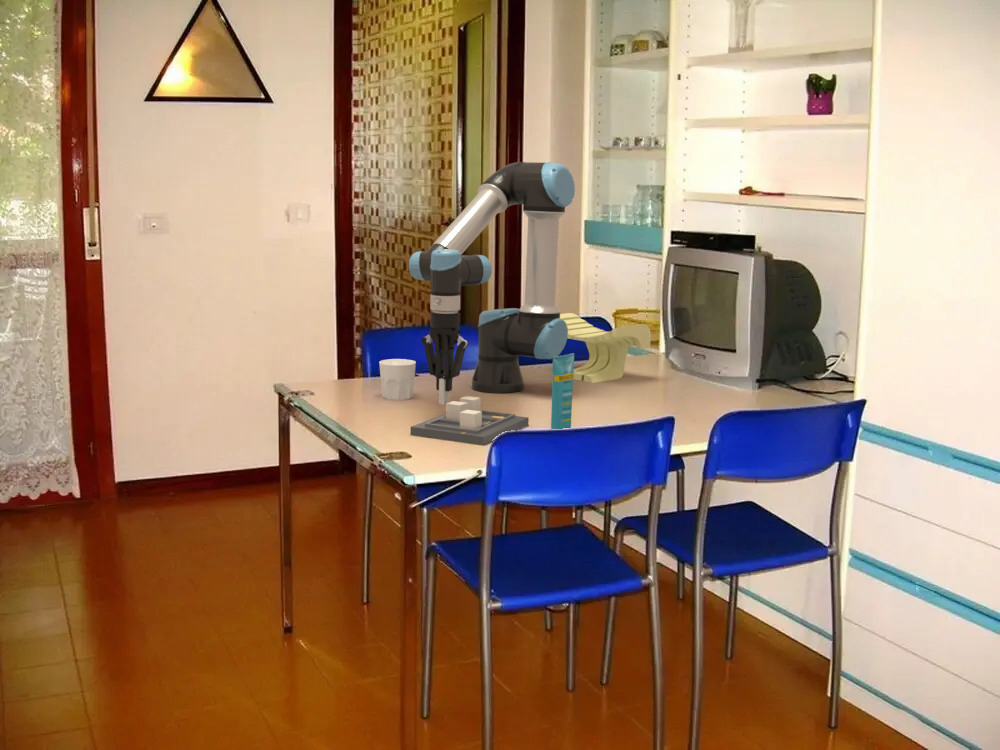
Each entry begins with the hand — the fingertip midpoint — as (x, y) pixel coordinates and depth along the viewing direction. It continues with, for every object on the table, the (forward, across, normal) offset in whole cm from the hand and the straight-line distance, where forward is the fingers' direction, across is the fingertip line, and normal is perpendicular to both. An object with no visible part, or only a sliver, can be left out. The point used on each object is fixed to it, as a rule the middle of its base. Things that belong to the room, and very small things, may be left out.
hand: (444, 403), depth 299 cm
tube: (+4, +32, +3) cm, 32 cm away
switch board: (+4, +12, -7) cm, 14 cm away
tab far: (+2, +7, 0) cm, 8 cm away
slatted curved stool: (+4, +10, +75) cm, 76 cm away
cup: (+4, -24, +17) cm, 30 cm away
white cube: (+2, +15, -14) cm, 21 cm away
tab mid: (+2, +8, -7) cm, 10 cm away
